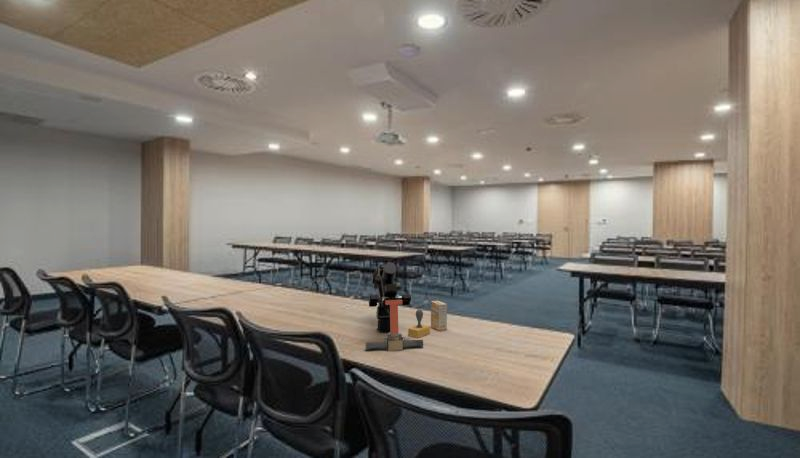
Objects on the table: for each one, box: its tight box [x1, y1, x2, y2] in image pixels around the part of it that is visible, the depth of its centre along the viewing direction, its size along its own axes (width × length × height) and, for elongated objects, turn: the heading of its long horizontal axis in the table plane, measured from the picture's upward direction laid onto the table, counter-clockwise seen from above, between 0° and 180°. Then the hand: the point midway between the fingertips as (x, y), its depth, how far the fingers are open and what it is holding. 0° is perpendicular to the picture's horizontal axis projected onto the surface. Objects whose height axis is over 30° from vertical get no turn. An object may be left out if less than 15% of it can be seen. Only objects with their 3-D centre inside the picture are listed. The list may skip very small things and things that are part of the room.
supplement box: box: [430, 300, 448, 332], centre depth 191 cm, size 8×5×13 cm, turn 25°
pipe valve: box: [364, 333, 424, 352], centre depth 161 cm, size 5×24×6 cm, turn 101°
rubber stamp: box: [407, 309, 431, 339], centre depth 181 cm, size 10×6×12 cm, turn 140°
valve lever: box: [385, 300, 402, 338], centre depth 162 cm, size 2×7×15 cm, turn 100°
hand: (392, 316), depth 168 cm, fingers closed
